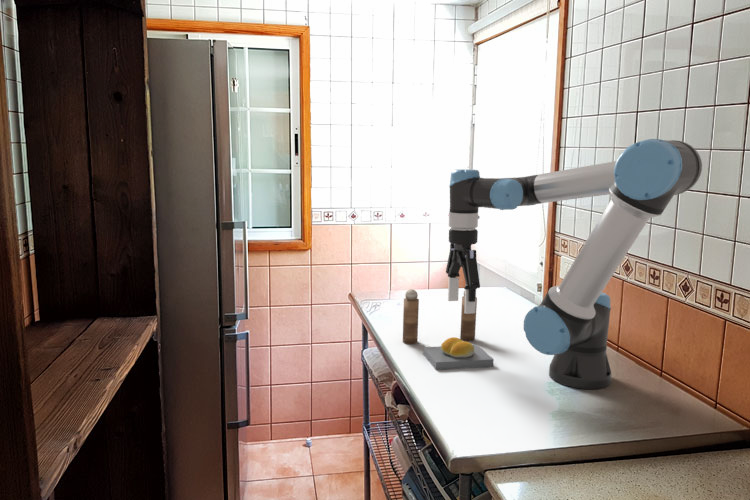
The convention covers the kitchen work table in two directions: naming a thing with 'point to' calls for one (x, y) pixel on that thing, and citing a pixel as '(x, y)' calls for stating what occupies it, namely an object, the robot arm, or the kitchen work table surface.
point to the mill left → (410, 317)
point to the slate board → (457, 359)
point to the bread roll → (457, 348)
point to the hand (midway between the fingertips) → (461, 306)
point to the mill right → (467, 323)
